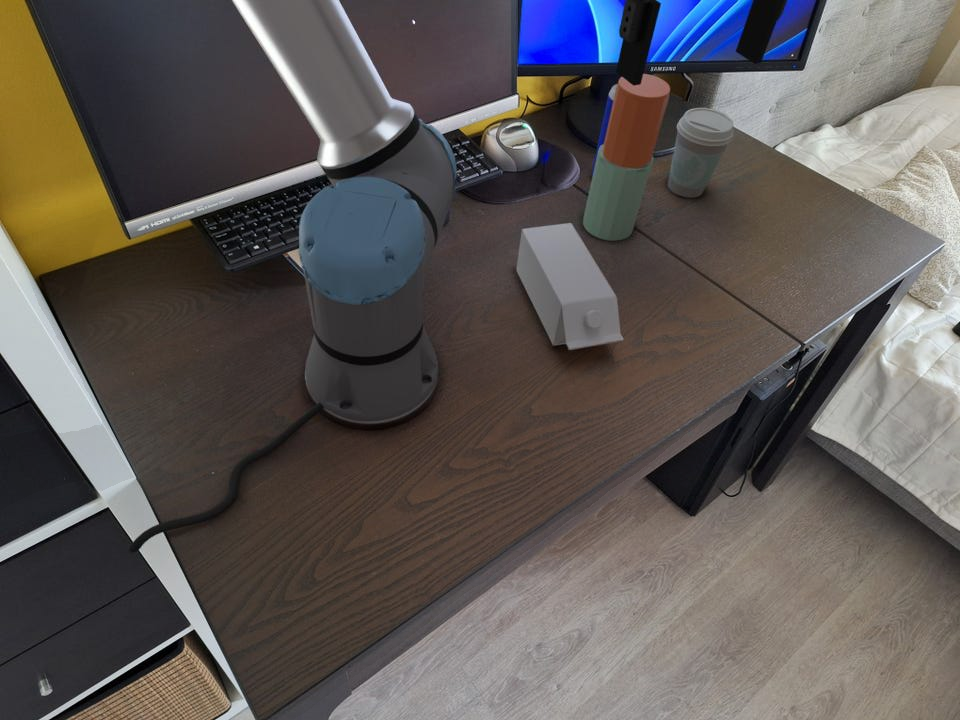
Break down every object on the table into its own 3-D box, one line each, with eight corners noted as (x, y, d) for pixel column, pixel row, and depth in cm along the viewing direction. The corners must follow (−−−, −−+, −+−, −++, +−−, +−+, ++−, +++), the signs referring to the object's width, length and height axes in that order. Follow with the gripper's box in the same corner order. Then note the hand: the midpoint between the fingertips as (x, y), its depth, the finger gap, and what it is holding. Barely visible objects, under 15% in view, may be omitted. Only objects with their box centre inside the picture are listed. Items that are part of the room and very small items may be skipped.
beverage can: (621, 171, 112) (643, 84, 101) (622, 188, 109) (645, 100, 98) (590, 167, 112) (609, 80, 101) (591, 185, 109) (610, 96, 98)
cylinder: (620, 171, 90) (638, 100, 82) (593, 147, 94) (608, 77, 86) (659, 162, 92) (680, 92, 85) (632, 139, 96) (650, 70, 88)
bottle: (600, 245, 98) (625, 147, 86) (573, 216, 103) (593, 119, 91) (642, 234, 101) (672, 137, 89) (614, 206, 105) (639, 110, 93)
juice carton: (562, 263, 95) (617, 359, 83) (515, 269, 93) (564, 369, 81) (571, 221, 90) (630, 318, 78) (521, 228, 88) (574, 328, 76)
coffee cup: (649, 179, 111) (669, 111, 102) (688, 168, 114) (711, 101, 105) (682, 207, 106) (706, 138, 97) (722, 195, 109) (749, 127, 100)
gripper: (669, -247, 38) (596, 108, 54) (958, -239, 46) (821, 66, 62) (598, -266, 42) (549, 68, 58) (873, -256, 51) (766, 33, 66)
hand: (690, 67), depth 60 cm, fingers open, 13 cm apart
